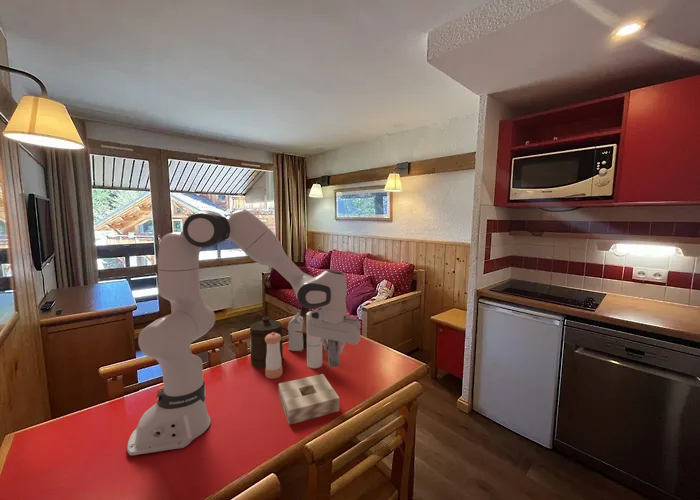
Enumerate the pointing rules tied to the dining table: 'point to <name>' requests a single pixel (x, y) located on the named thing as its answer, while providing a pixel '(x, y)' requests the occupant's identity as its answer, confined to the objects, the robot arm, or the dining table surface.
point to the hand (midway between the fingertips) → (333, 350)
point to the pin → (333, 353)
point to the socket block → (308, 398)
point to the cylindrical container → (313, 349)
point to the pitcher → (304, 325)
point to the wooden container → (263, 340)
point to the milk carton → (296, 333)
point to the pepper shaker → (273, 356)
